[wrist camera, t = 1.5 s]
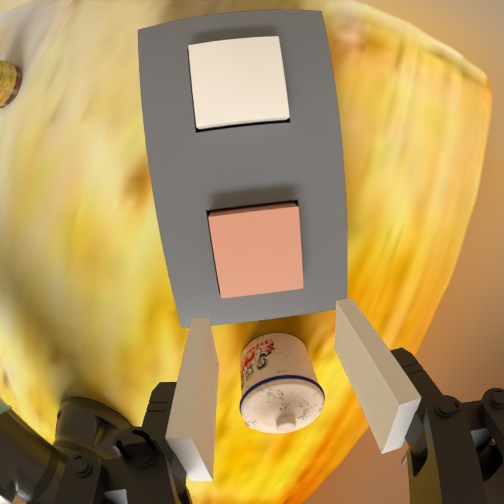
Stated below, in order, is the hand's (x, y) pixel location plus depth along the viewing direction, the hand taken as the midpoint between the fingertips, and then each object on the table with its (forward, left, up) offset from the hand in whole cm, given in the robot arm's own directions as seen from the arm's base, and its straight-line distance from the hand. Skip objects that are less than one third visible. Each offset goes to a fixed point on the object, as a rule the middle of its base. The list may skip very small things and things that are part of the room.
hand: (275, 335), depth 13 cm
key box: (0, +7, -19) cm, 20 cm away
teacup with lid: (0, -18, -19) cm, 26 cm away
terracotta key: (0, 0, -15) cm, 15 cm away
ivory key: (0, +14, -15) cm, 21 cm away
